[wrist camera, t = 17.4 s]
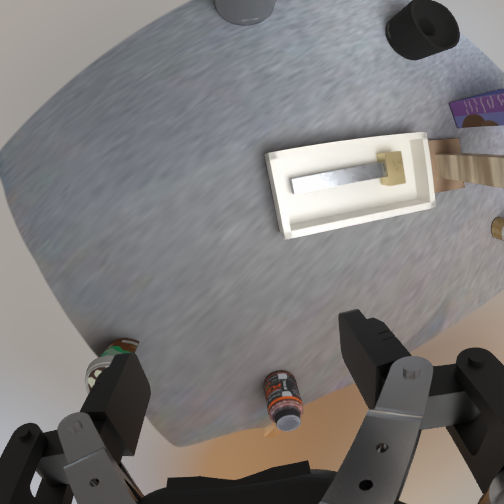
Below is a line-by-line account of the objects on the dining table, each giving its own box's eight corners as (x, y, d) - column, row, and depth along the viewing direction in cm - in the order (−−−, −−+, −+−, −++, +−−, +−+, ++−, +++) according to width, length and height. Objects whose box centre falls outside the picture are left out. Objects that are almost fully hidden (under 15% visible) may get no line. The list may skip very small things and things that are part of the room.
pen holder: (397, 8, 40) (425, -14, 30) (434, 43, 42) (466, 29, 32) (373, 35, 42) (400, 14, 32) (413, 72, 44) (446, 59, 34)
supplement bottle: (273, 365, 56) (283, 406, 45) (301, 375, 57) (314, 415, 46) (257, 388, 57) (263, 430, 46) (284, 397, 58) (294, 438, 47)
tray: (279, 232, 49) (285, 239, 44) (264, 154, 46) (268, 152, 41) (419, 203, 50) (435, 207, 45) (410, 133, 46) (426, 131, 42)
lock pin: (293, 202, 47) (298, 204, 44) (286, 169, 46) (290, 169, 43) (396, 181, 47) (405, 183, 45) (391, 151, 46) (401, 150, 43)
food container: (110, 319, 51) (90, 349, 42) (142, 335, 52) (127, 368, 43) (94, 368, 54) (76, 400, 44) (122, 382, 55) (108, 416, 45)
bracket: (417, 194, 49) (572, 238, 18) (410, 142, 47) (570, 143, 16) (460, 186, 49) (604, 221, 19) (454, 138, 47) (602, 143, 16)
